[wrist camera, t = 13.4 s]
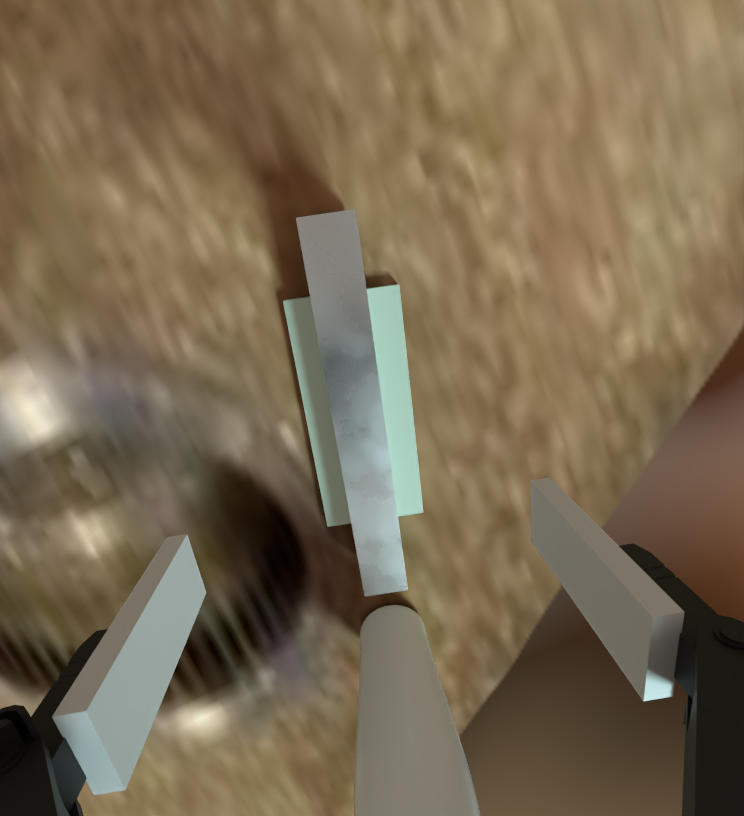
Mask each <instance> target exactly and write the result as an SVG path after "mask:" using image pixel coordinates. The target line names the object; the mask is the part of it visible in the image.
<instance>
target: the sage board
mask: <svg viewBox="0 0 744 816" xmlns="http://www.w3.org/2000/svg"><path fill="white" fill-rule="evenodd" d="M366 289H367V296H368V303H369V311H370V318H371V325H372V332H373V340H374V347H375V354H376V362H377V369H378V376H379V383H380V391H381V398H382V405H383V412H384V420H385V427H386V434H387V442H388V449H389V456H390V463H391V471H392V478H393V485H394V492H395V500H396V507H397V514H398V516H404V515H411V514H417V513H423V504H422V495H421V485H420V476H419V466H418V457H417V447H416V438H415V429H414V419H413V410H412V400H411V391H410V381H409V372H408V362H407V353H406V344H405V334H404V325H403V315H402V306H401V296H400V287H399V284H393V285H386V286H379V287H372V288H366ZM283 304H284V309H285V314H286V319H287V324H288V329H289V335H290V340H291V345H292V350H293V355H294V360H295V365H296V370H297V375H298V380H299V385H300V390H301V395H302V400H303V405H304V410H305V416H306V421H307V426H308V431H309V436H310V441H311V446H312V451H313V456H314V461H315V466H316V471H317V476H318V481H319V486H320V491H321V496H322V502H323V507H324V512H325V517H326V522H327V527H330V526H337V525H344V524H350V523H351V519H350V513H349V508H348V502H347V497H346V491H345V486H344V480H343V475H342V469H341V464H340V458H339V453H338V447H337V442H336V436H335V431H334V425H333V420H332V414H331V409H330V403H329V398H328V392H327V387H326V381H325V376H324V370H323V365H322V359H321V354H320V348H319V343H318V337H317V332H316V326H315V321H314V315H313V310H312V304H311V299H310V296H308V297H301V298H294V299H287V300H284V301H283Z"/></svg>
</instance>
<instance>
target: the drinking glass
mask: <svg viewBox="0 0 744 816" xmlns="http://www.w3.org/2000/svg"><path fill="white" fill-rule="evenodd" d="M360 651H361V653H360V677H359V697H358V716H357V734H356V752H355V774H354V816H480V813H479V808H478V803H477V799H476V795H475V791H474V787H473V783H472V779H471V776H470V772H469V768H468V765H467V762H466V758H465V755H464V752H463V748H462V745H461V742H460V739H459V736H458V733H457V730H456V726H455V723H454V720H453V717H452V714H451V711H450V708H449V705H448V702H447V699H446V696H445V693H444V690H443V686H442V683H441V680H440V677H439V674H438V671H437V668H436V665H435V661H434V658H433V655H432V652H431V649H430V645H429V642H428V638H427V633H426V629H425V625H424V623H423V620H422V619H421V617H420V616H419V615H418V614H417V613H416V612H415V611H414V610H412V609H410V608H408V607H405V606H401V605H388V606H383V607H380V608H378V609H376V610H375V611H373V612H372V613H370V614H369V615H368V616H367V617H366V619H365V620H364V622H363V624H362V626H361V630H360Z"/></svg>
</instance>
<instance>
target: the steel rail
mask: <svg viewBox="0 0 744 816" xmlns="http://www.w3.org/2000/svg"><path fill="white" fill-rule="evenodd" d="M296 222H297V228H298V233H299V239H300V244H301V250H302V255H303V260H304V266H305V271H306V277H307V282H308V288H309V293H310V299H311V304H312V310H313V315H314V321H315V326H316V332H317V337H318V343H319V348H320V354H321V359H322V365H323V370H324V376H325V381H326V387H327V392H328V398H329V403H330V409H331V414H332V420H333V425H334V431H335V436H336V442H337V447H338V453H339V458H340V464H341V469H342V475H343V480H344V486H345V491H346V497H347V502H348V508H349V513H350V519H351V524H352V530H353V535H354V541H355V546H356V552H357V557H358V563H359V568H360V574H361V579H362V585H363V590H364V596H365V597H366V596H373V595H379V594H386V593H392V592H398V591H405V590H408V587H407V580H406V572H405V565H404V558H403V551H402V543H401V536H400V529H399V522H398V514H397V507H396V500H395V492H394V485H393V478H392V471H391V463H390V456H389V449H388V442H387V434H386V427H385V420H384V412H383V405H382V398H381V391H380V383H379V376H378V369H377V362H376V354H375V347H374V340H373V332H372V325H371V318H370V311H369V303H368V296H367V289H366V282H365V274H364V267H363V260H362V252H361V245H360V238H359V231H358V223H357V216H356V209H352V210H345V211H338V212H331V213H325V214H318V215H311V216H304V217H297V218H296Z"/></svg>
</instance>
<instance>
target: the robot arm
mask: <svg viewBox="0 0 744 816" xmlns="http://www.w3.org/2000/svg"><path fill="white" fill-rule="evenodd" d="M531 541H532V543H533V544H534V545H535V547H536V548H537V550H538V551H539V553H540V554H541V555H542V557H543V558H544V560H545V561H546V563H547V564H548V565H549V567H550V568H551V570H552V571H553V573H554V574H555V575H556V577H557V578H558V580H559V581H560V583H561V584H562V585H563V587H564V588H565V590H566V591H567V593H568V594H569V595H570V597H571V598H572V599H573V601H574V603H575V604H576V605H577V607H578V608H579V610H580V611H581V612H582V614H583V615H584V617H585V618H586V620H587V621H588V622H589V624H590V625H591V627H592V628H593V630H594V631H595V632H596V634H597V635H598V637H599V638H600V640H601V641H602V643H603V644H604V645H605V647H606V648H607V650H608V651H609V653H610V654H611V655H612V657H613V658H614V660H615V661H616V663H617V664H618V665H619V667H620V668H621V670H622V671H623V673H624V674H625V675H626V677H627V678H628V680H629V681H630V683H631V684H632V685H633V687H634V688H635V690H636V691H637V693H638V694H639V695H640V697H641V698H642V700H643V701H648V700H654V699H660V698H665V697H672V696H673V691H674V684H675V679H676V680H677V681H678V683H679V684H680V685H681V686H682V687H683V689H684V690H685V691H686V693H687V701H686V708H685V714H684V720H683V724H685V747H684V773H683V774H684V775H683V799H682V816H744V622H741V621H739V620H736V619H734V618H731V617H726V616H721V615H718V614H717V613H716V612H715V611H714V610H713V609H711V608H710V607H709V606H708V605H707V604H706V603H705V602H704V601H703V600H702V599H701V598H699V597H698V596H697V595H696V594H695V593H694V592H693V591H692V590H691V589H690V588H689V587H687V586H686V585H685V584H684V583H683V582H682V581H681V580H680V579H679V578H676V577H675V575H674V574H673V573H672V572H671V571H670V570H669V569H668V568H665V566H664V564H663V563H661V562H660V561H659V560H658V559H657V558H656V557H655V556H654V555H653V554H652V553H650V552H648V551H646V550H644V549H643V548H641V547H639V546H637V545H635V544H627V545H621V546H618V545H617V544H616V543H615V542H614V541H613V540H612V539H611V538H610V537H609V536H608V535H607V534H606V533H605V532H604V531H603V530H602V529H601V528H600V527H599V526H598V525H597V524H596V523H595V522H594V521H593V520H592V519H591V518H590V517H589V516H588V515H587V514H586V513H585V512H584V511H583V510H582V509H581V508H580V507H579V506H578V505H577V504H576V503H575V502H574V501H573V500H572V499H571V498H570V497H569V496H568V495H567V494H566V493H565V492H564V491H563V490H562V489H561V488H560V487H559V486H558V485H557V484H556V483H555V482H554V481H553V480H552V479H551V478H545V479H538V480H532V481H531ZM205 595H206V591H205V588H204V585H203V581H202V578H201V575H200V572H199V569H198V566H197V563H196V560H195V557H194V554H193V551H192V548H191V545H190V542H189V538H188V535H187V534H185V535H179V536H172V537H167V538H166V539H165V541H164V542H163V544H162V545H161V547H160V548H159V550H158V552H157V553H156V555H155V556H154V558H153V559H152V561H151V563H150V564H149V566H148V567H147V569H146V570H145V572H144V574H143V575H142V577H141V578H140V580H139V581H138V583H137V584H136V586H135V588H134V589H133V591H132V592H131V594H130V595H129V597H128V599H127V600H126V602H125V603H124V605H123V606H122V608H121V609H120V611H119V613H118V614H117V616H116V617H115V619H114V620H113V622H112V624H111V625H110V627H109V628H108V629H106V630H100V631H96V632H95V633H94V634H92V635H91V636H90V637H89V638H88V639H87V640H86V641H85V642H84V643H83V644H82V645H81V646H80V647H79V648H78V649H77V651H76V652H75V654H74V655H73V657H72V658H71V660H70V661H69V663H68V666H67V667H65V668H64V670H63V671H62V673H61V674H60V676H59V679H58V680H57V681H56V682H55V683H54V685H53V686H52V687H51V689H50V690H49V692H48V693H47V695H46V696H45V698H44V699H43V701H42V702H41V703H40V705H39V706H38V708H37V709H36V711H35V712H34V714H33V715H32V717H30V715H29V713H28V712H27V710H26V709H25V707H24V706H19V705H13V706H9V707H5V708H2V709H0V816H83V812H82V808H81V806H80V804H79V802H78V800H77V797H78V795H79V793H80V791H81V789H82V787H83V785H84V783H85V781H87V783H88V785H89V787H90V788H91V790H92V792H93V794H94V795H99V794H105V793H111V792H117V791H123V790H126V788H127V785H128V783H129V780H130V778H131V775H132V773H133V771H134V768H135V766H136V763H137V761H138V758H139V756H140V753H141V751H142V749H143V746H144V744H145V741H146V739H147V736H148V734H149V731H150V729H151V727H152V724H153V722H154V719H155V717H156V714H157V712H158V709H159V707H160V705H161V702H162V700H163V697H164V695H165V692H166V690H167V687H168V685H169V683H170V680H171V678H172V675H173V673H174V670H175V668H176V665H177V663H178V661H179V658H180V656H181V653H182V651H183V648H184V646H185V643H186V641H187V639H188V636H189V634H190V631H191V629H192V626H193V624H194V621H195V619H196V617H197V614H198V612H199V609H200V607H201V604H202V602H203V599H204V597H205Z"/></svg>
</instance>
